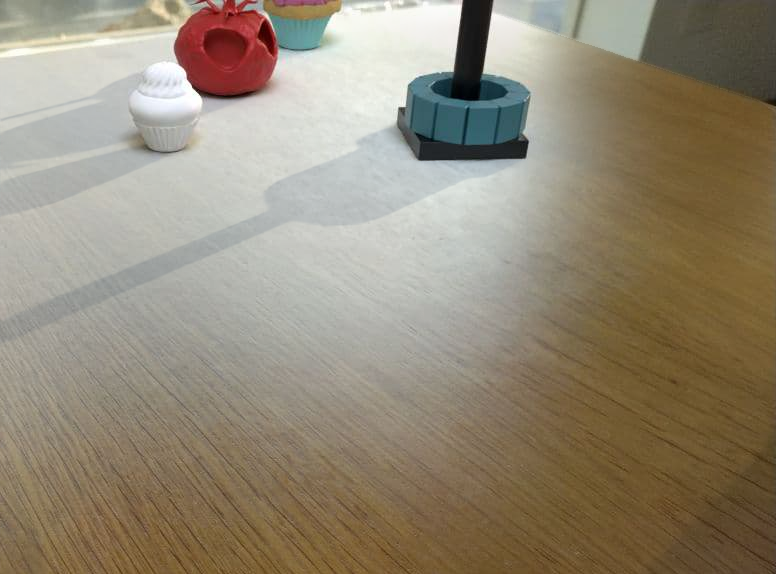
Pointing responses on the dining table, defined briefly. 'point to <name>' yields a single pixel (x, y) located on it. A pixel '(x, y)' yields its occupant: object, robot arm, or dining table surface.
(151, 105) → the muffin
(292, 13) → the cupcake
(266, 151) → the dining table surface
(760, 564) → the dining table surface
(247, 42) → the pomegranate
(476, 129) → the ring
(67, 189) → the dining table surface
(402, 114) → the stand
